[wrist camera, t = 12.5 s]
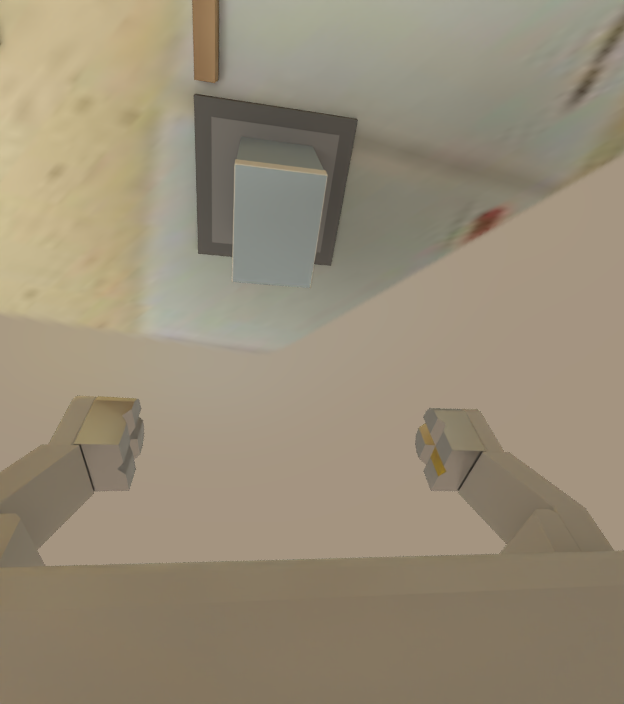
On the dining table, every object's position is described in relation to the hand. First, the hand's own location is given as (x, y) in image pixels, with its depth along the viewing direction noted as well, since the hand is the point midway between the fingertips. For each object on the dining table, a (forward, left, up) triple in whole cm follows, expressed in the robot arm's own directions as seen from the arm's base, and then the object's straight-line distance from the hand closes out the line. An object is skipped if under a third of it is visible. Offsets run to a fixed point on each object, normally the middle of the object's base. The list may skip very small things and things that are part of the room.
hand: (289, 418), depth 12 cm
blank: (0, +1, -24) cm, 24 cm away
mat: (0, +1, -24) cm, 24 cm away
